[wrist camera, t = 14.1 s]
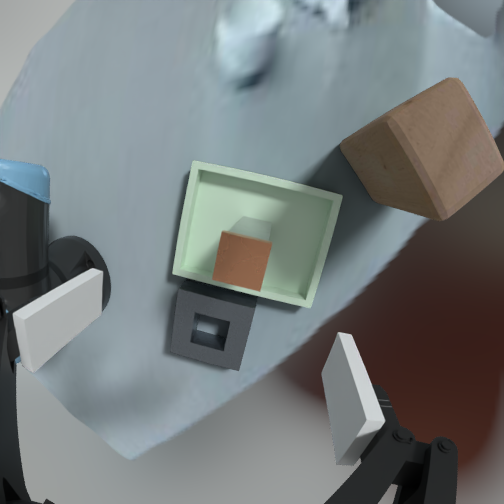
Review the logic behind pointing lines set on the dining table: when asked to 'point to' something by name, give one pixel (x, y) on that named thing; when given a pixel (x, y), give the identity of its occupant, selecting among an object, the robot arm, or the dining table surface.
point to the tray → (263, 208)
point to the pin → (244, 254)
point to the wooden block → (426, 153)
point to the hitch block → (218, 306)
